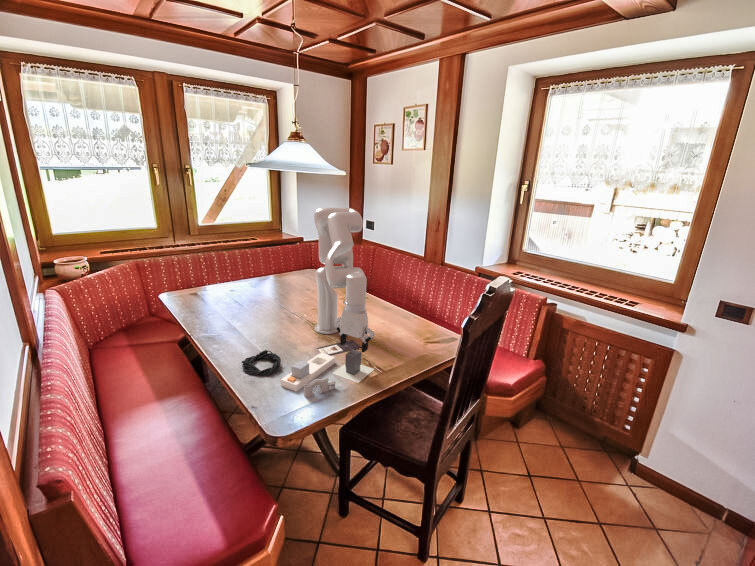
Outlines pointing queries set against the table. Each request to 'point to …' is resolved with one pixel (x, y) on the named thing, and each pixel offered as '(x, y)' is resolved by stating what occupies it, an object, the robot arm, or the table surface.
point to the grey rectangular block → (353, 362)
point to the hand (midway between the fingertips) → (353, 347)
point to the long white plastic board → (315, 368)
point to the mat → (356, 378)
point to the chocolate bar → (339, 348)
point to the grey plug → (300, 369)
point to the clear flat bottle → (318, 383)
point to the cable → (271, 356)
